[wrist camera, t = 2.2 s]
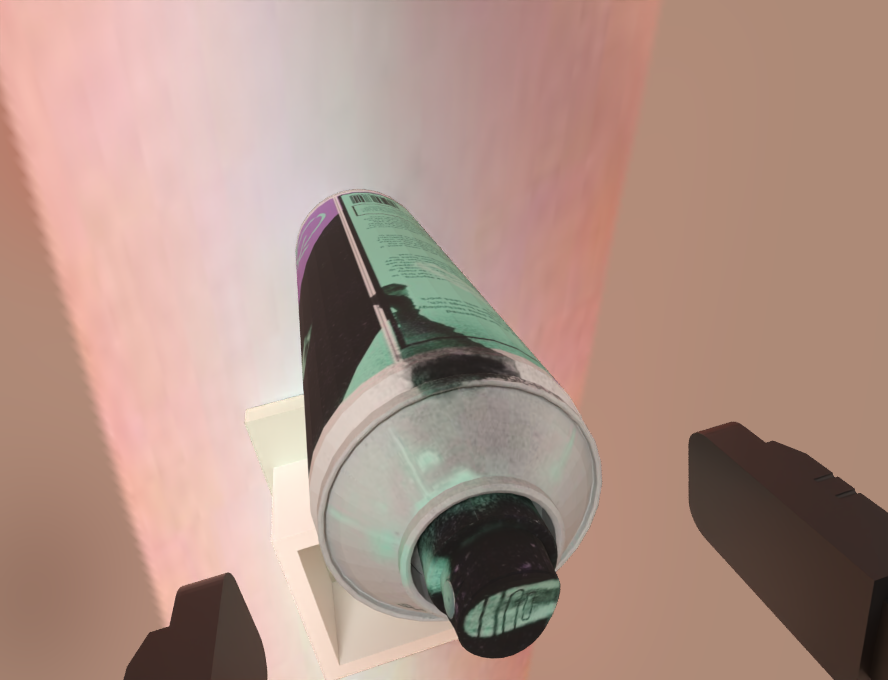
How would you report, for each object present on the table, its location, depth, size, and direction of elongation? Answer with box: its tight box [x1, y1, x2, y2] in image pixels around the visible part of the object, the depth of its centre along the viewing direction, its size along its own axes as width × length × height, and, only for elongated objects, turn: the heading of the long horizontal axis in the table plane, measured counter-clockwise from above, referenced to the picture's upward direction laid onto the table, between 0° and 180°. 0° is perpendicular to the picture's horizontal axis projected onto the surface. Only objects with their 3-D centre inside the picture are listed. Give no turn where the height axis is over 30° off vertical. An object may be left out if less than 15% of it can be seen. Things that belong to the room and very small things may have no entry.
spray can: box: [296, 189, 602, 658], centre depth 18 cm, size 6×6×20 cm
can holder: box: [244, 394, 458, 680], centre depth 29 cm, size 14×10×6 cm
